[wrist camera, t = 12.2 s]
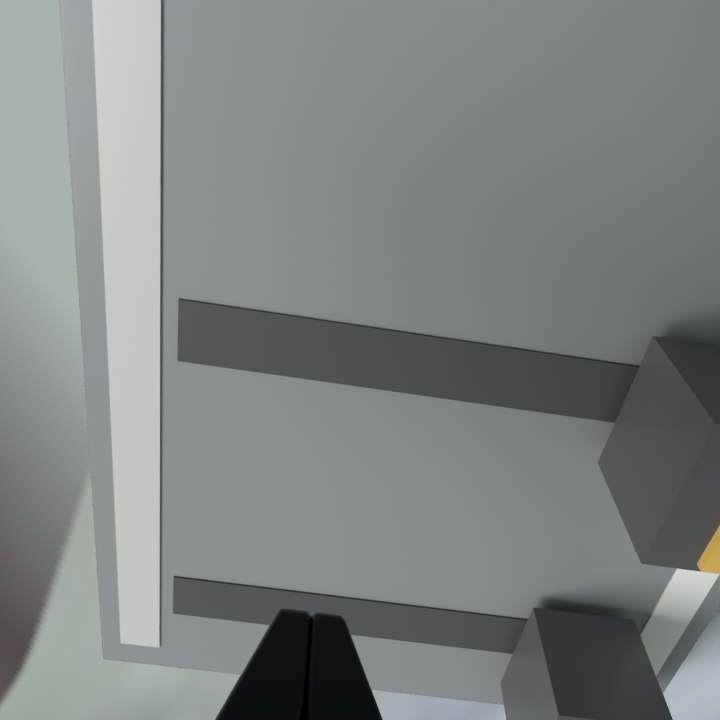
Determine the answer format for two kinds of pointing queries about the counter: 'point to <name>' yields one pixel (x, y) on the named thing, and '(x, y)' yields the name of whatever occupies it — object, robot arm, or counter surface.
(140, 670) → the counter surface
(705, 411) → the handle
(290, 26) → the panel
